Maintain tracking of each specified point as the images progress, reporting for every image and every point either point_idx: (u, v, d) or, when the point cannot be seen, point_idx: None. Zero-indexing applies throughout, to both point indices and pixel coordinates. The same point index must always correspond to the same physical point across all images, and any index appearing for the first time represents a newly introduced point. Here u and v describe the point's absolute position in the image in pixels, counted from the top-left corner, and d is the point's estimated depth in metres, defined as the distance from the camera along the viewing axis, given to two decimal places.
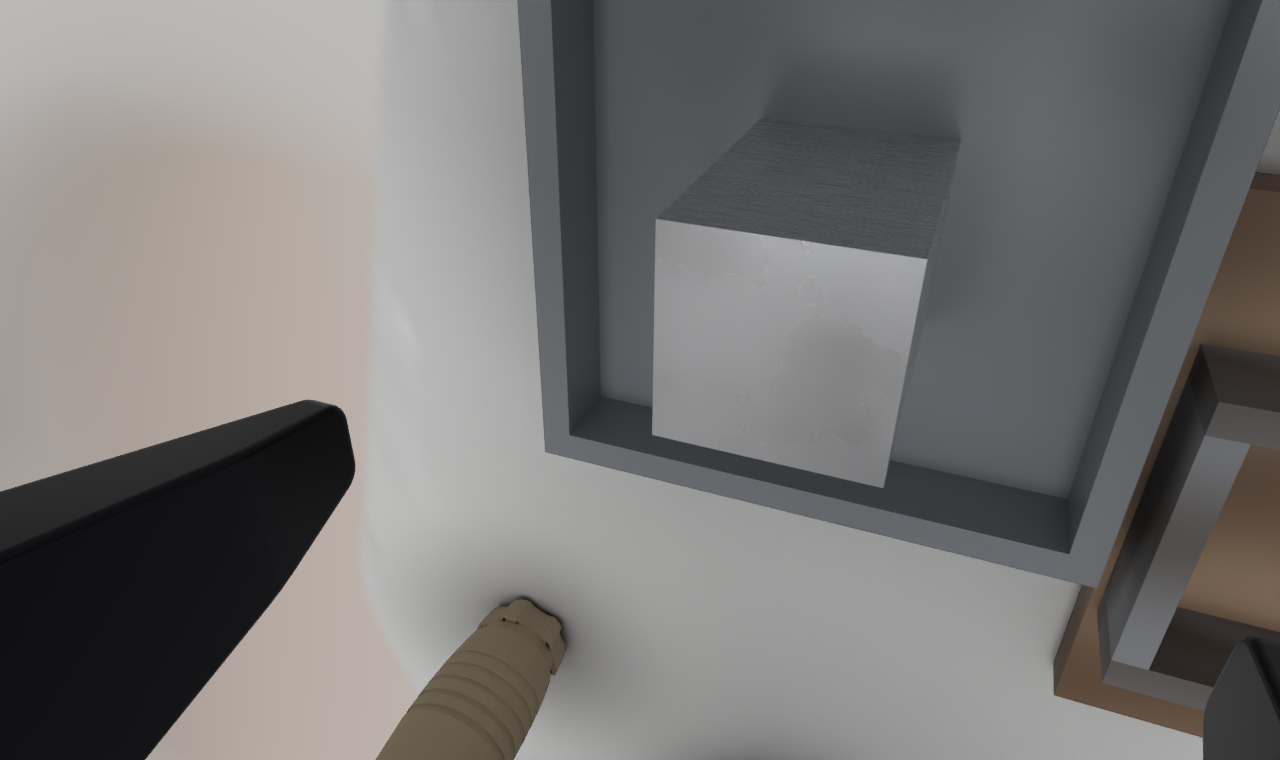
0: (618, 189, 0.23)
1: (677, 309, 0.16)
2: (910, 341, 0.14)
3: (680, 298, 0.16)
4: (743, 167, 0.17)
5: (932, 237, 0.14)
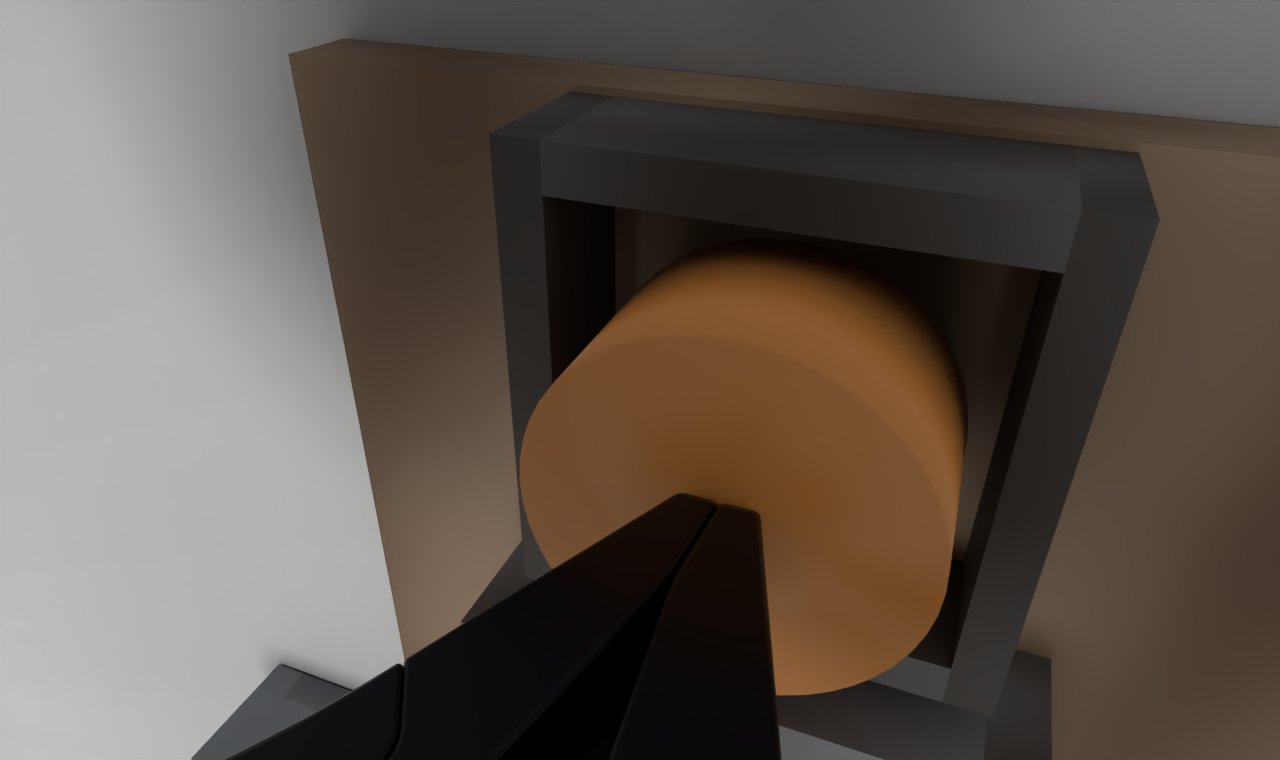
0: None
1: None
2: None
3: None
4: None
5: None
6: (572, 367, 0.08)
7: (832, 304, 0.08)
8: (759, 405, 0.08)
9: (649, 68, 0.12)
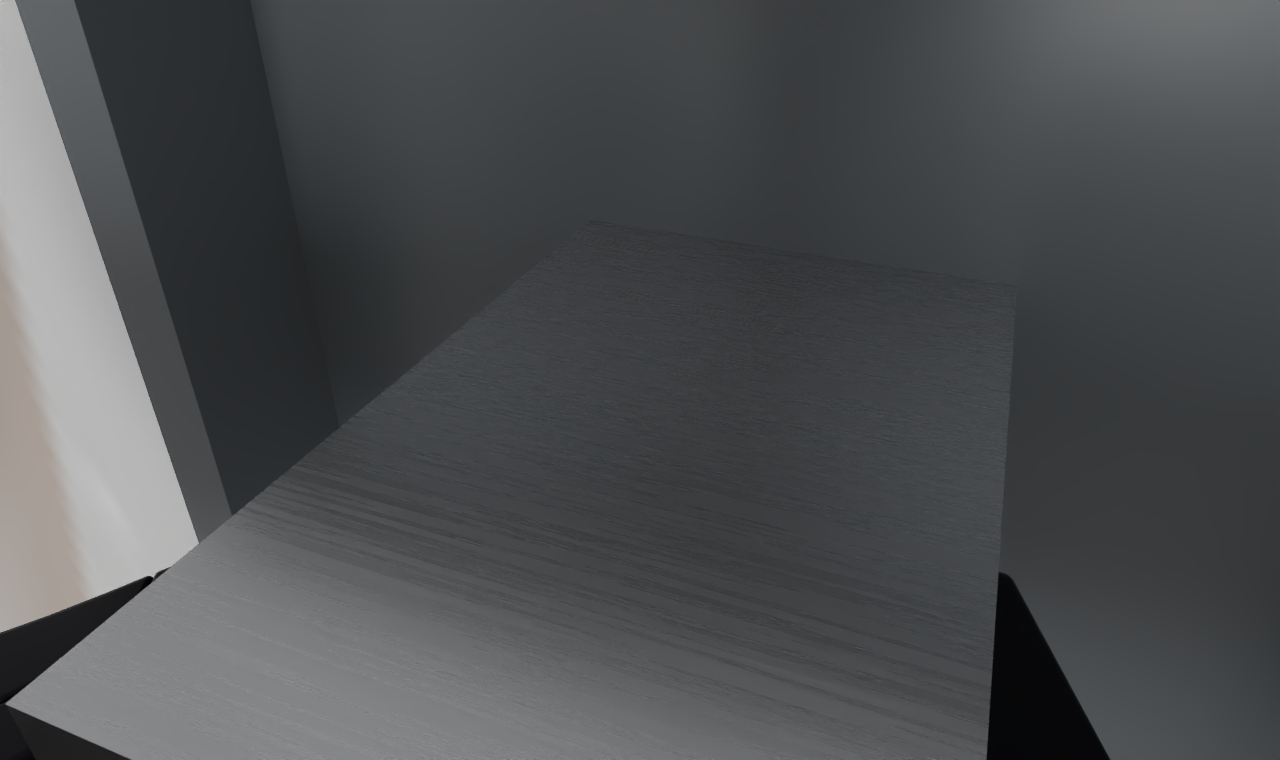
0: (354, 335, 0.12)
1: None
2: None
3: None
4: (467, 395, 0.07)
5: None
6: None
7: None
8: None
9: None
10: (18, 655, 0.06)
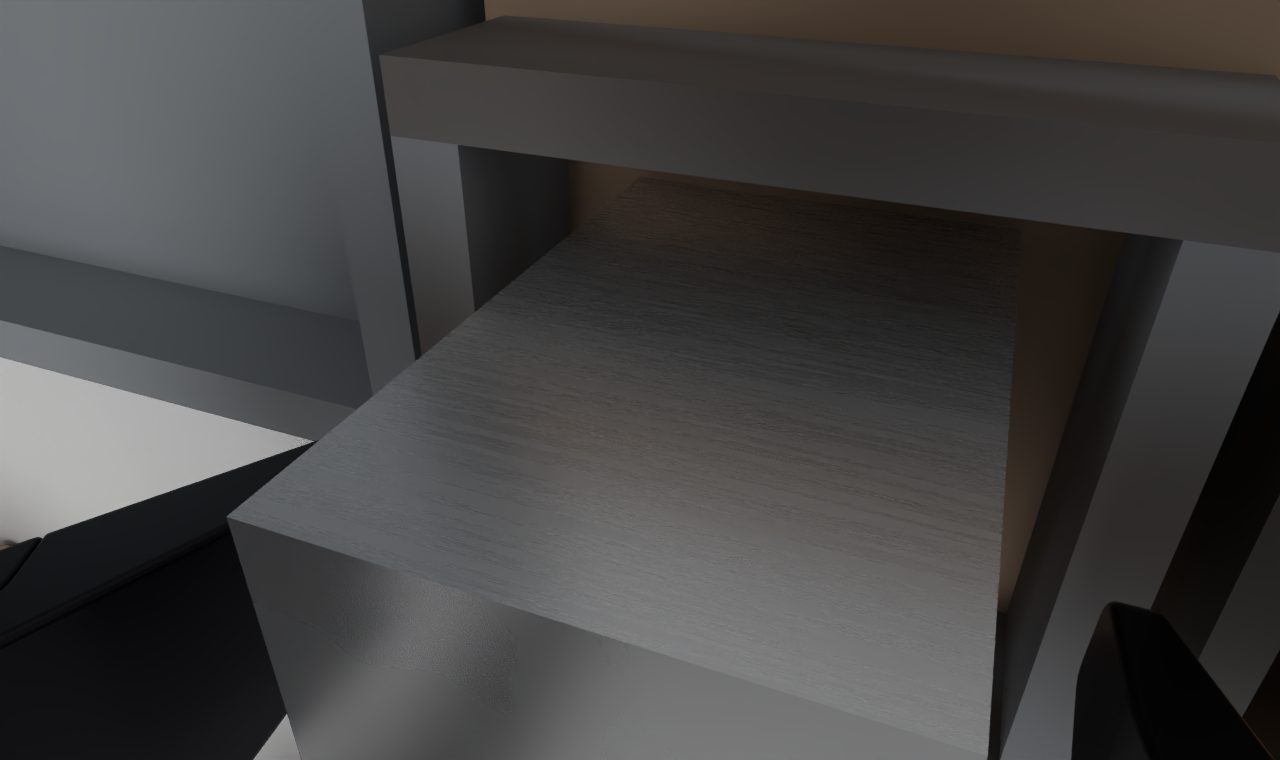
0: None
1: (331, 712, 0.06)
2: None
3: (331, 693, 0.06)
4: (553, 311, 0.08)
5: (993, 611, 0.05)
6: None
7: None
8: None
9: None
10: None
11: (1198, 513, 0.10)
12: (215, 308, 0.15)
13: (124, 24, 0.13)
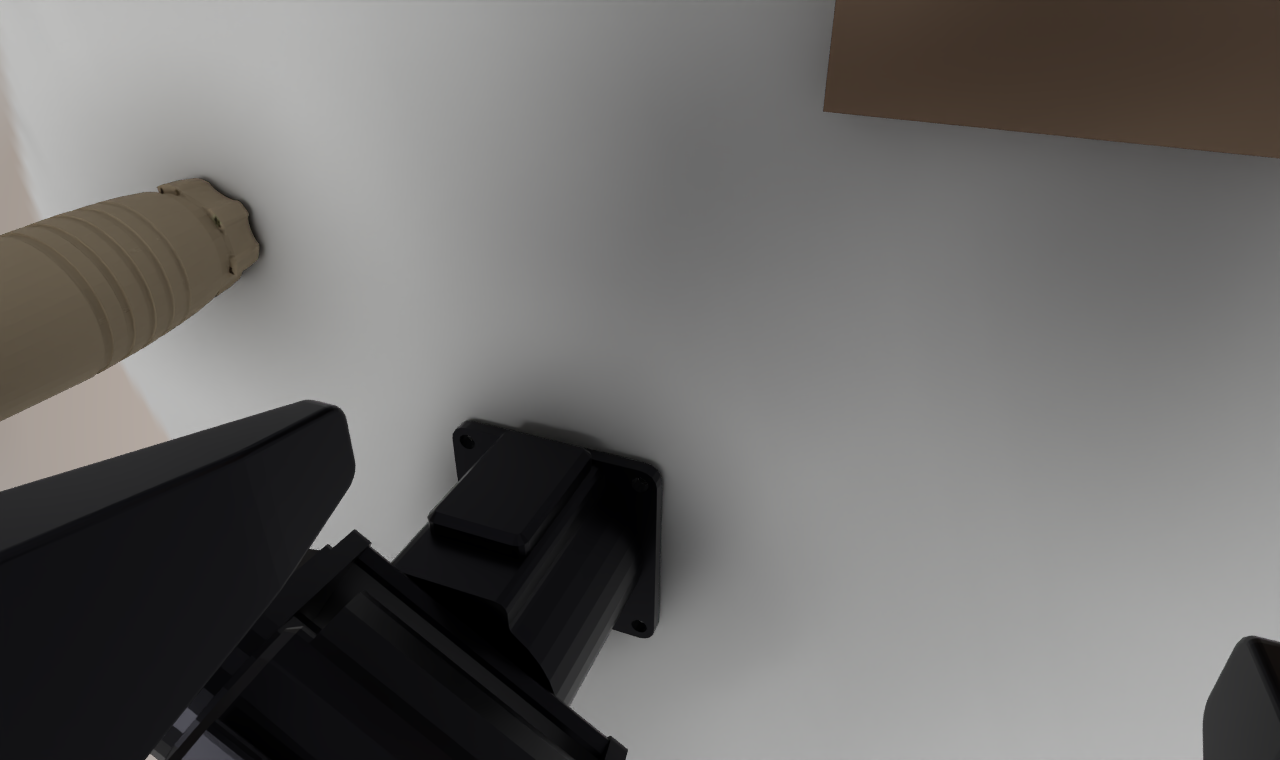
0: None
1: None
2: None
3: None
4: None
5: None
6: None
7: None
8: None
9: None
10: None
11: None
12: None
13: None
